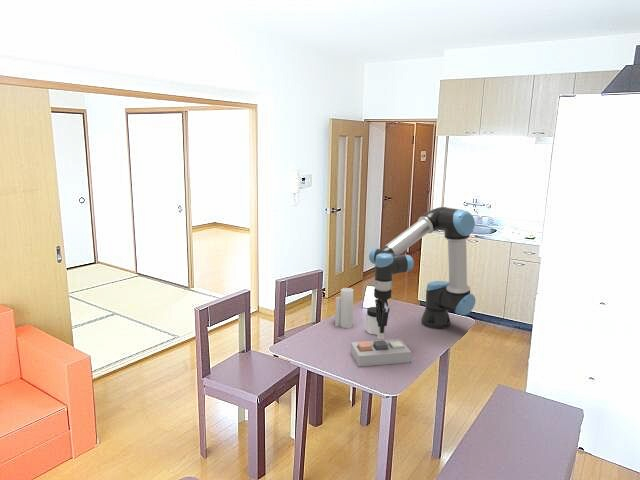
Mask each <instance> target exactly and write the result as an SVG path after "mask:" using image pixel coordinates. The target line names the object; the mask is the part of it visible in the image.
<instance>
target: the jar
mask: <svg viewBox="0 0 640 480" xmlns="http://www.w3.org/2000/svg"><path fill="white" fill-rule="evenodd" d="M365 317H366V318H365V331H366V332H367V334H370V335H375V336H376V335H378V323H377V322H378V321H376V306H370V307H368V308H367V309H366V314H365Z"/></svg>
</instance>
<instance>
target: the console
mask: <svg viewBox="0 0 640 480" xmlns="http://www.w3.org/2000/svg"><path fill="white" fill-rule="evenodd" d="M381 340H382V339H380V340H378V339H376V341H381ZM383 340H384V341H385V342H386V343H387V345H388V350H376V349H375V348H374V341H375V340H366V341H364V340H363V342H368V341H369V343H370V344H371V346H372V351H364V352H360V351H359V349H358V342H359V341H355V342H354V341H352V342H350V354H351V356H352V358H353V359H354V361H355V363H356V364H357V366H358V367H359V368H361V367H369V366H370V367H371V366H382V365H393V364H394V365H395V364H406V363H407V364H408V363H412V351H411V349H410V348H409V347H408V346H407V345H406V344H405V343H404V341H403V340H402V339H401V338H391V339H383ZM394 341H400V342H401V343H402V344H403V346H404V348H402V349H392V348H391V347H390V346H389V342H394Z"/></svg>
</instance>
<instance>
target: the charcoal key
mask: <svg viewBox="0 0 640 480" xmlns="http://www.w3.org/2000/svg"><path fill="white" fill-rule="evenodd" d="M380 340H381V341H377V340H373V341H374V348H375V349H376V350H388V345H387V343H386V342H385V341H384V340H385V339H380Z"/></svg>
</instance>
